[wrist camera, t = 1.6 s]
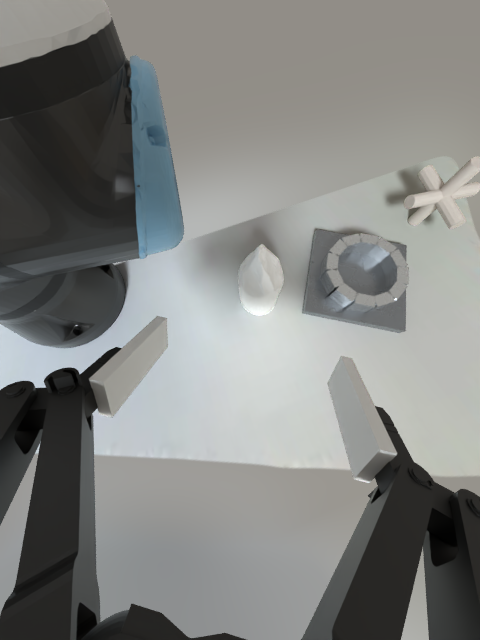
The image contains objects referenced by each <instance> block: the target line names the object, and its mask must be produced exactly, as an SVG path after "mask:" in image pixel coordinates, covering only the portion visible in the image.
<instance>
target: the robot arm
mask: <svg viewBox="0 0 480 640" xmlns="http://www.w3.org/2000/svg"><path fill="white" fill-rule="evenodd" d="M183 235H184V225H183V218H182V212H181V206H180V200H179V194H178V188H177V182H176V177H175V172H174V166H173V160H172V154H171V148H170V143H169V138H168V132H167V126H166V121H165V116H164V110H163V106H162V101H161V96H160V91H159V85H158V80H157V75H156V71H155V69H154V67H153V65H152V64H151V63H150V62H148V61H145V60H141V59H140V58H139V57H138V56H136V55H135V56H131V57H130V61H128V60H127V58H126V57H125V55H124V52H123V49H122V46H121V43H120V40H119V37H118V35H117V32H116V29H115V26H114V23H113V20H112V17H111V14H110V12H109V9H108V7H107V4H106V3H105V2H104V0H0V324H1V325H3V326H5V327H7V328H8V329H10V330H12V331H13V332H15V333H17V334H18V335H20V336H22V337H24V338H25V339H27V340H29V341H31V342H34V343H36V344H40V345H44V346H50V347H57V348H71V347H76V346H80V345H83V344H86V343H88V342H90V341H92V340H94V339H96V338H97V337H99V336H100V335H102V334H103V333H104V332H105V331H106V330H107V329H108V328H109V327H110V326H111V325H112V324H113V323H114V321H115V320H116V318H117V317H118V315H119V313H120V311H121V309H122V306H123V302H124V298H125V285H124V281H123V278H122V275H121V274H120V272H119V270H118V269H117V268H116V267H115V266H114V265H113V264H112V263H116V262H121V261H126V260H131V259H137V258H140V259H144V258H145V257H146V256H147V255H150V254H154V253H158V252H162V251H165V250H169V249H172V248H174V247H176V246H177V245H178V244H179V243H180V241H181V240H182V238H183ZM167 347H168V340H167V318H164V317H159V316H157V317H156V318H155V319H154V320H152V321H151V322H150V323H149V324H148V325H147V326H146V327H145V328H144V329H143V330H142V331H140V332H139V333H138V334H137V335H136V336H135V337H134V338H133V339H132V340H131V341H130V342H128V343H127V344H126V345H125V346H124V347H123V348H118V347H115V348H113V349H111V350H109V351H107V352H106V353H105V354H104V355H102V356H101V358H99V359H98V360H97V361H96V362H94V363H93V364H92V365H91V366H90V367H88V368H87V369H86V370H85V371H84V372H83V373H81V374H80V375H79V372H78V370H77V369H75V368H62V369H59V370H56V371H54V372H52V373H50V374H49V375H48V376H47V377H46V378H45V380H44V383H45V385H46V387H47V388H35V386H34V384H33V383H32V382H30V381H20V382H15V383H13V384H10V385H8V386H6V387H4V388H3V389H1V390H0V524H1V523H2V520H3V518H4V516H5V514H6V512H7V510H8V508H9V506H10V504H11V502H12V500H13V498H14V496H15V493H16V491H17V489H18V487H19V485H20V483H21V481H22V479H23V477H24V475H25V473H26V470H27V468H28V466H29V464H30V462H31V460H32V458H33V456H34V454H35V452H36V450H37V448H38V446H39V443H40V441H41V443H40V449H39V455H38V460H37V466H36V472H35V477H34V483H33V489H32V494H31V500H30V506H29V511H28V517H27V523H26V529H25V534H24V540H23V546H22V551H21V557H20V563H19V568H18V574H17V580H16V584H15V588H14V590H13V593H12V594H11V595H10V596H9V598H8V599H7V600H6V602H5V604H4V607H3V609H2V612H1V616H0V640H246V639H242V638H239V637H236V636H233V635H230V634H227V633H222V634H216V635H210V636H204V637H198V638H189V637H187V636H186V635H185V634H184V633H183V632H182V631H180V630H179V629H178V628H177V627H176V626H175V625H174V624H173V623H172V622H171V621H170V620H168V619H167V618H166V617H165V616H164V615H163V614H162V613H160V612H156V611H154V610H150V609H147V608H144V607H141V606H137V605H135V604H131V607H130V609H129V610H126V611H122V612H119V613H116V614H114V615H112V616H110V617H108V618H107V619H105V620H104V621H102V622H101V623H100V598H99V588H98V582H97V575H96V537H95V491H94V490H95V489H94V437H93V415H92V413H93V412H94V411H95V410H96V409H97V408H98V411H99V415H103V416H107V417H111V418H113V416H114V415H115V414H116V413H117V411H118V410H119V409H120V407H121V406H122V405H123V404H124V402H125V401H126V400H127V398H128V397H129V396H130V395H131V393H132V392H133V391H134V389H135V388H136V387H137V386H138V384H139V383H140V382H141V380H142V379H143V378H144V377H145V375H146V374H147V373H148V371H149V370H150V369H151V368H152V366H153V365H154V364H155V363H156V361H157V360H158V359H159V357H160V356H161V355H162V354H163V352H164V351H165V350H166V348H167ZM328 387H329V391H330V394H331V398H332V402H333V405H334V409H335V413H336V416H337V420H338V423H339V427H340V431H341V434H342V438H343V442H344V445H345V449H346V453H347V456H348V460H349V464H350V467H351V471H352V474H353V478H354V479H355V480H359V481H363V482H367V483H370V482H371V481H372V480H373V479H374V478H375V479H376V482H377V485H378V487H376V488H375V489H374V491H372V492H371V493H370V494H369V495H368V496H369V497H370V500H369V502H368V504H367V507H366V508H365V511H364V513H363V515H362V517H361V519H360V521H359V523H358V525H357V527H356V529H355V531H354V533H353V535H352V537H351V539H350V542H349V544H348V545H347V548H346V550H345V552H344V554H343V556H342V558H341V560H340V562H339V564H338V566H337V568H336V570H335V572H334V574H333V576H332V578H331V580H330V582H329V585H328V587H327V589H326V591H325V593H324V595H323V597H322V599H321V601H320V603H319V605H318V607H317V609H316V612H315V613H314V616H313V617H312V620H311V622H310V624H309V626H308V628H307V630H306V632H305V634H304V636H303V638H302V639H301V640H401V636H402V632H403V628H404V623H405V619H406V615H407V610H408V606H409V602H410V598H411V594H412V590H413V585H414V581H415V576H416V573H417V568H418V564H419V560H420V556H421V552H422V547H423V552H424V568H425V583H426V599H427V614H428V630H429V640H480V497H479V496H477V495H476V494H475V493H473V492H470V491H468V490H466V489H460V490H459V491H457V492H456V493H454V492H452V491H450V490H448V489H447V488H445V487H443V486H441V485H439V484H437V483H435V482H434V481H433V479H432V478H431V476H430V475H429V474H428V472H427V471H425V470H424V469H423V468H422V467H421V466H419V465H418V464H416V463H414V461H413V460H412V458H411V456H410V454H409V452H408V450H407V448H406V446H405V444H404V443H403V441H402V439H401V437H400V435H399V434H398V431H397V429H396V427H394V424H393V422H392V420H391V418H390V416H389V415H388V414H387V413H386V412H385V411H384V409H383V408H381V407H376V406H374V404H373V401H372V399H371V397H370V395H369V393H368V391H367V389H366V387H365V385H364V383H363V381H362V378H361V376H360V374H359V372H358V370H357V368H356V366H355V364H354V362H353V360H352V358H348V357H343V356H341V357H340V359H339V361H338V363H337V365H336V367H335V369H334V371H333V373H332V375H331V377H330V379H329V381H328Z"/></svg>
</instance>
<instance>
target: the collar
mask: <svg viewBox="0 0 480 640" xmlns="http://www.w3.org/2000/svg"><path fill="white" fill-rule="evenodd" d="M407 265H408V264H407V263H406V245H403V244H397V243H392V242H388V241H386V240H385V239H383V238H382V237H381V238H380V239H379V236H375V235H369V234H363V233H360V234H358V233H357V234H353V235H346V234H341V233H335V232H329V231H324V230H318V229H316V231H315V233H314V237H313V244H312V251H311V258H310V265H309V271H308V278H307V285H306V292H305V298H304V305H303V312H302V313H304V314H309V315H314V316H319V317H323V318H328V319H333V320H338V321H343V322H348V323H353V324H358V325H363V326H368V327H373V328H378V329H383V330H387V331H392V332H397V333H400V332H404V331H405V325H406V288H407V287H408V286H406V285H408V280H409V267H406V266H407Z"/></svg>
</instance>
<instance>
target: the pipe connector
mask: <svg viewBox="0 0 480 640" xmlns="http://www.w3.org/2000/svg"><path fill="white" fill-rule="evenodd" d="M479 171H480V157H473V158H472V159H470V160H469V161H468V162H467V163H466V164H465V165H464V166H463V167H462V168H461V169H460V170H459V171H458V172H457V173H456V174H455V175H454V176H453V177H452V178H450V179H449V180H448V181H447V182H446V183H445V184H444V183H443V181H442V179H441V178H440V176H439V175H438V173H437V171H436V170H435V168H434V167H433V165H428V166H426V167H425V168H423V169H422V170H421V171H420V172H419V173H418V177H419V178H420V180H421V182H422V183H423V185H424V187H425V189H426V190H427V192H423V193H418V194H413V195H409V196H407V197H406V199H405V200H404V207H405V208H406V209H412V208H417V207H420V208H419V209H418V210H417V211H416V212H415V213H414V214H413V215H412V216H411V217H410V218H409V219H408V222H409V224H410V225H413V226H417V225H418V224H419V223H421V222H422V221H423V220H424V219H425V218H426V217H428V216H429V215H430V214H431V213H432V212H433V211H434V210H436V209H438V211H439V212H440V214H441V216H442V217H443V219H444V221H445V223H446V224H447V226H448V228H449V229H454V228H457V227H459V226H461V225H462V224H464V223H465V222H466V221H467V220H466V218H465V216H464V215H463V213H462V212H461V210H460V208H459V207H458V205H457V204H456V202H455V200H456V199H460V198H465V197H470V196H473V195H475V194H477V193H478V191H479V190H480V184H479V183H478V182H472V183H467V182H468V181H469V180H470V179H471V178H473V177H474V176H475V175H476V174H477V173H478V172H479ZM466 183H467V184H466Z"/></svg>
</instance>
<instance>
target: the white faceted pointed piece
mask: <svg viewBox="0 0 480 640" xmlns="http://www.w3.org/2000/svg"><path fill="white" fill-rule="evenodd" d="M238 283H239V295H240V301H241V304H242V306H243V307H244V309H245V310H246V311H248V312H249V313H251V314H253V315H257V316H262V315H266V314H268V313H270V312H271V311H272V310H273V308H274V306H275V304H276V301H277V298H278V296H279V294H280V291H281V289H282V286H283V283H284V276H283V271H282V267H281V264H280V261H279V259H278V257H276V256H275V255H274V254H273V253H272V252H271V251H270V250H269V249H267V248H266V247H265V246H264V245H263V244H260V245H259V246H258V247H257V248H256V249H255V251H253V252H251V253H250V254H249V255H248V256H247V257H246V258H245V260H244V261H243V262H242V263H241V265H240V267H239V271H238Z"/></svg>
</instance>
